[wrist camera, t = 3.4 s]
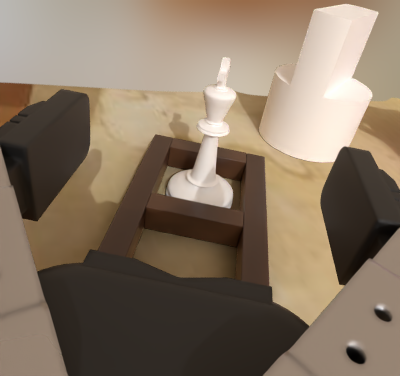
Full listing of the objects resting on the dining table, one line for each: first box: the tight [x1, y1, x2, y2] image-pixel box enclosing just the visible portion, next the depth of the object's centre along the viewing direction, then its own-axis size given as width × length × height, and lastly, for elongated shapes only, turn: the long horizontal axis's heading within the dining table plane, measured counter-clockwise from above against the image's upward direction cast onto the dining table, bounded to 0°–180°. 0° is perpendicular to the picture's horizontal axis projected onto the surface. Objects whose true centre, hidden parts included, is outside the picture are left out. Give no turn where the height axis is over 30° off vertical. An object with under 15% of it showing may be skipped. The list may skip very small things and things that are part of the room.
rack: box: [98, 135, 269, 286], centre depth 23 cm, size 9×16×2 cm, turn 173°
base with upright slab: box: [259, 4, 379, 163], centre depth 34 cm, size 9×9×12 cm
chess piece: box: [166, 57, 236, 209], centre depth 24 cm, size 5×5×10 cm
